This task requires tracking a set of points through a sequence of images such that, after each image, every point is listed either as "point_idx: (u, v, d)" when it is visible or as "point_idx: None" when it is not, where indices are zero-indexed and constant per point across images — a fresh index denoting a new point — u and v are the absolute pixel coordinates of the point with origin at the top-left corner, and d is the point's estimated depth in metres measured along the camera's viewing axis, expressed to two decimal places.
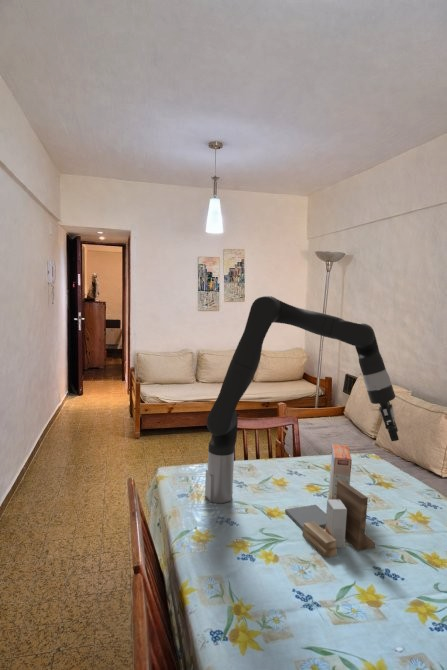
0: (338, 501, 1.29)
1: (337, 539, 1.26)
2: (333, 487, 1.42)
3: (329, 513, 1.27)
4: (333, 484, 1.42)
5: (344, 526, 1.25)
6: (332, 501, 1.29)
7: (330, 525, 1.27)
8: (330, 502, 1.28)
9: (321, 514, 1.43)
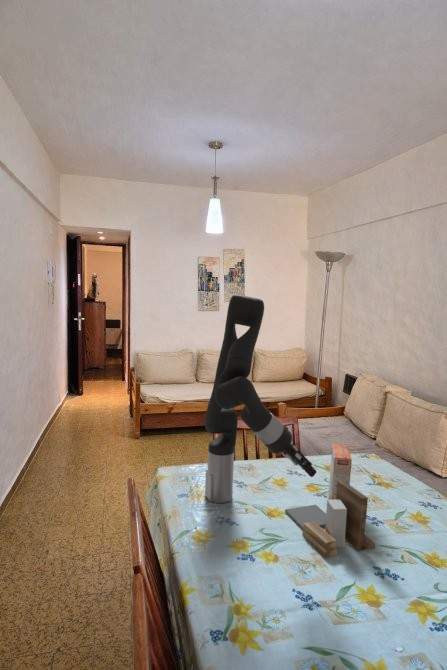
0: (338, 501, 1.29)
1: (337, 539, 1.26)
2: (333, 487, 1.42)
3: (329, 513, 1.27)
4: (333, 484, 1.42)
5: (344, 526, 1.25)
6: (332, 501, 1.29)
7: (330, 525, 1.27)
8: (330, 502, 1.28)
9: (321, 514, 1.43)
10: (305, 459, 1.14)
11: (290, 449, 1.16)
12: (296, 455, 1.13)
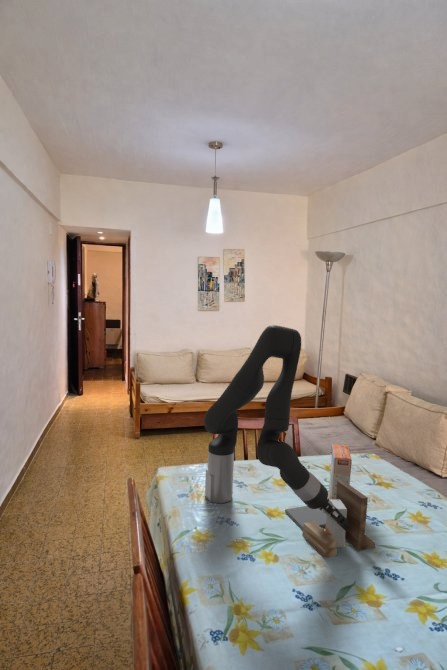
0: (338, 501, 1.29)
1: (337, 539, 1.26)
2: (333, 487, 1.42)
3: None
4: (333, 484, 1.42)
5: None
6: (332, 501, 1.29)
7: (330, 525, 1.27)
8: None
9: (321, 514, 1.43)
10: (341, 516, 1.20)
11: (326, 505, 1.22)
12: (334, 513, 1.19)
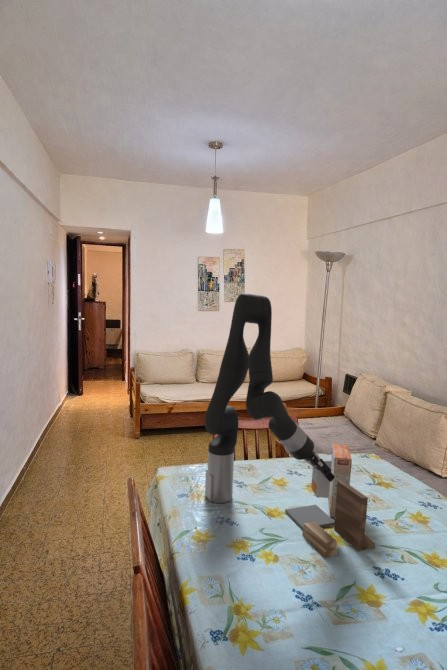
0: (324, 455, 1.36)
1: (322, 489, 1.32)
2: (333, 487, 1.42)
3: None
4: (333, 484, 1.42)
5: None
6: (319, 454, 1.36)
7: (315, 476, 1.34)
8: None
9: (321, 514, 1.43)
10: (326, 466, 1.27)
11: (312, 456, 1.28)
12: (319, 463, 1.26)
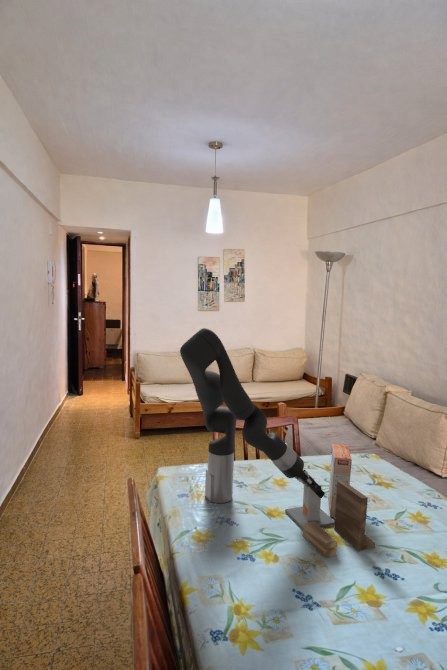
0: (314, 479, 1.42)
1: (312, 513, 1.38)
2: (333, 487, 1.42)
3: (306, 489, 1.40)
4: (333, 484, 1.42)
5: (319, 501, 1.38)
6: None
7: (306, 500, 1.39)
8: None
9: (321, 514, 1.43)
10: (315, 483, 1.33)
11: (302, 474, 1.35)
12: (308, 480, 1.32)
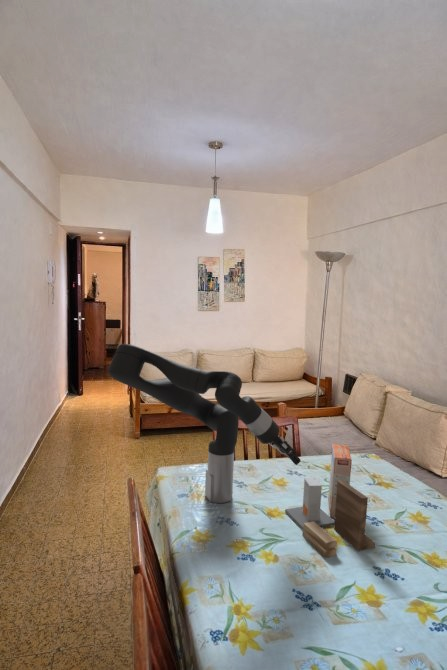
0: (314, 479, 1.42)
1: (313, 513, 1.38)
2: (333, 487, 1.42)
3: (306, 490, 1.40)
4: (333, 484, 1.42)
5: (319, 501, 1.38)
6: (309, 479, 1.42)
7: (306, 500, 1.39)
8: (307, 480, 1.41)
9: (321, 514, 1.43)
10: (291, 448, 1.29)
11: (277, 440, 1.30)
12: (283, 444, 1.28)
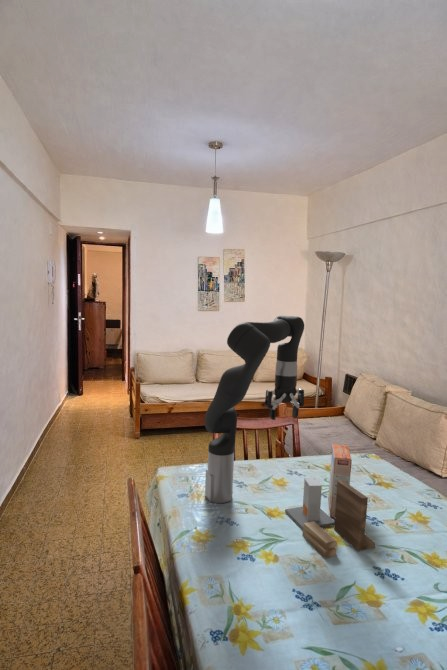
0: (314, 479, 1.42)
1: (313, 513, 1.38)
2: (333, 487, 1.42)
3: (306, 490, 1.40)
4: (333, 484, 1.42)
5: (319, 501, 1.38)
6: (309, 479, 1.42)
7: (306, 500, 1.39)
8: (307, 480, 1.41)
9: (321, 514, 1.43)
10: None
11: None
12: None
